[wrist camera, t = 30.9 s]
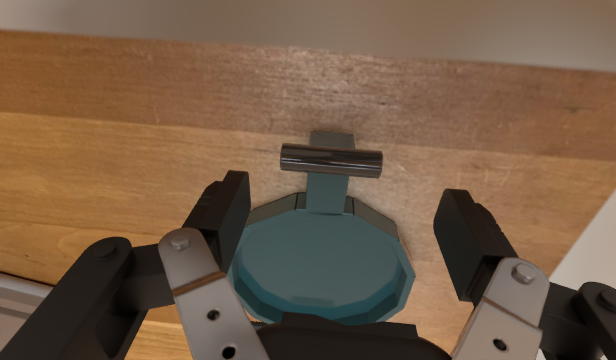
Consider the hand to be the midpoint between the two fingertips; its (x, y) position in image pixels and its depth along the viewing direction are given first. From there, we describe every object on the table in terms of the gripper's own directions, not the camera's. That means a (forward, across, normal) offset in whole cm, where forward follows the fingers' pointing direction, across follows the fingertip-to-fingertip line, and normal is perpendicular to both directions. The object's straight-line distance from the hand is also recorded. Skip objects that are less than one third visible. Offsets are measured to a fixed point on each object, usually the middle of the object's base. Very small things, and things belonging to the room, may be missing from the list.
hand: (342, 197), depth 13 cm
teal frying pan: (+6, +1, +9) cm, 11 cm away
